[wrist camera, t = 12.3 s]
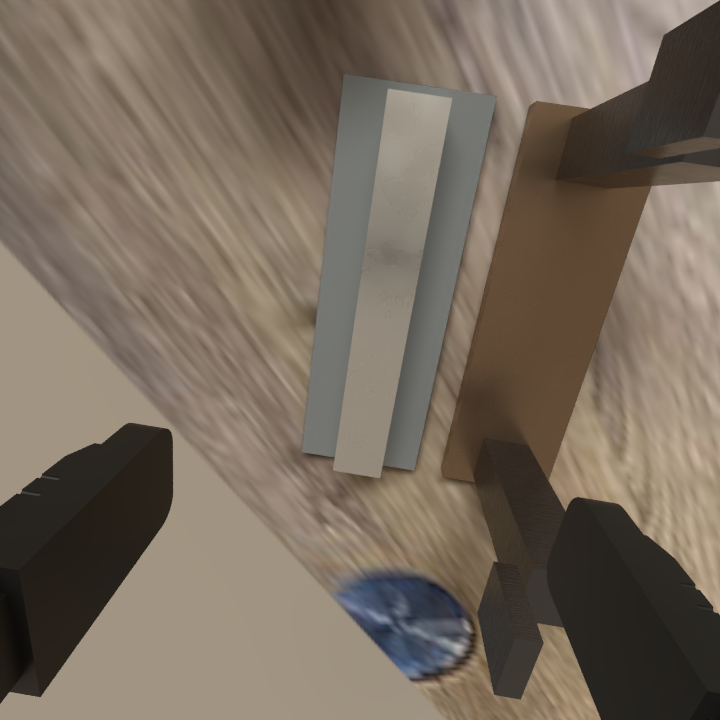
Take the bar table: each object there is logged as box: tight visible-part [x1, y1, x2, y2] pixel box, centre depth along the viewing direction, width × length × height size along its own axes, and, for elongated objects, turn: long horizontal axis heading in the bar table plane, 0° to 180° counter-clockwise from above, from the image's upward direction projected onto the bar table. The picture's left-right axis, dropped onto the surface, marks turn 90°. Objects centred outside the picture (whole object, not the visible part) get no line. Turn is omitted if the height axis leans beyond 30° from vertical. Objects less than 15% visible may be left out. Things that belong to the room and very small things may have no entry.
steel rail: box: [333, 89, 452, 478], centre depth 25 cm, size 3×21×3 cm, turn 172°
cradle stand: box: [441, 1, 720, 699], centre depth 20 cm, size 7×23×16 cm, turn 172°
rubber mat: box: [302, 74, 497, 471], centre depth 27 cm, size 8×23×1 cm, turn 172°
